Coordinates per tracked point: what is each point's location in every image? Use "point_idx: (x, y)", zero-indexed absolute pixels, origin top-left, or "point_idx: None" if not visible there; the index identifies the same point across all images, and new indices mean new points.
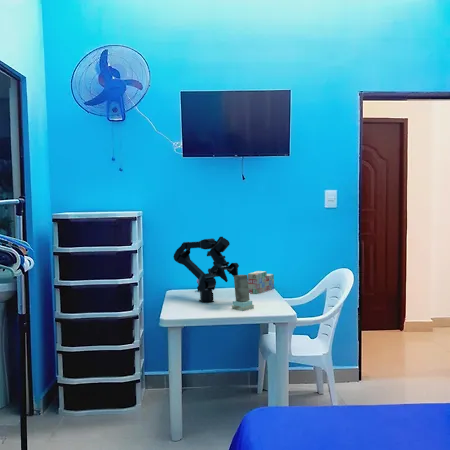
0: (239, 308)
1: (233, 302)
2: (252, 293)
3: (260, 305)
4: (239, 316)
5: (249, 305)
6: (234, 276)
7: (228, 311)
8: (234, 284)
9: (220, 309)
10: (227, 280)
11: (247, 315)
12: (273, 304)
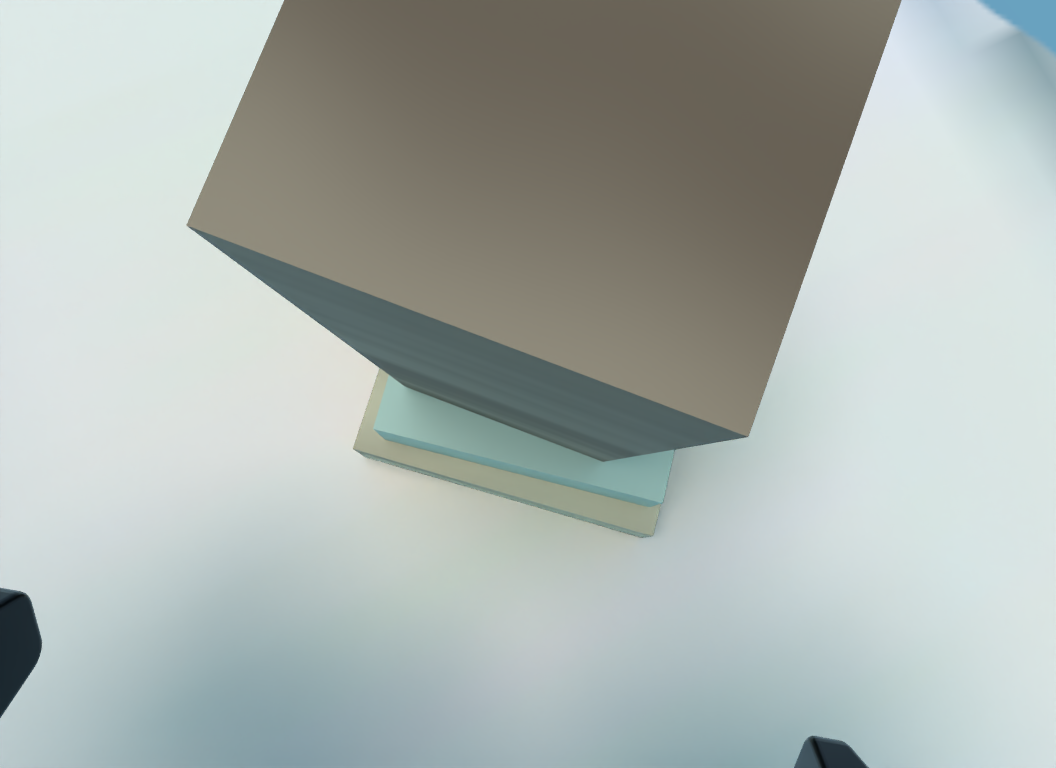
0: None
1: (660, 492)
2: None
3: (196, 186)
4: (1049, 169)
5: None
6: (766, 371)
7: (850, 491)
8: (662, 449)
9: (786, 713)
10: (836, 751)
11: (932, 89)
12: (45, 23)
